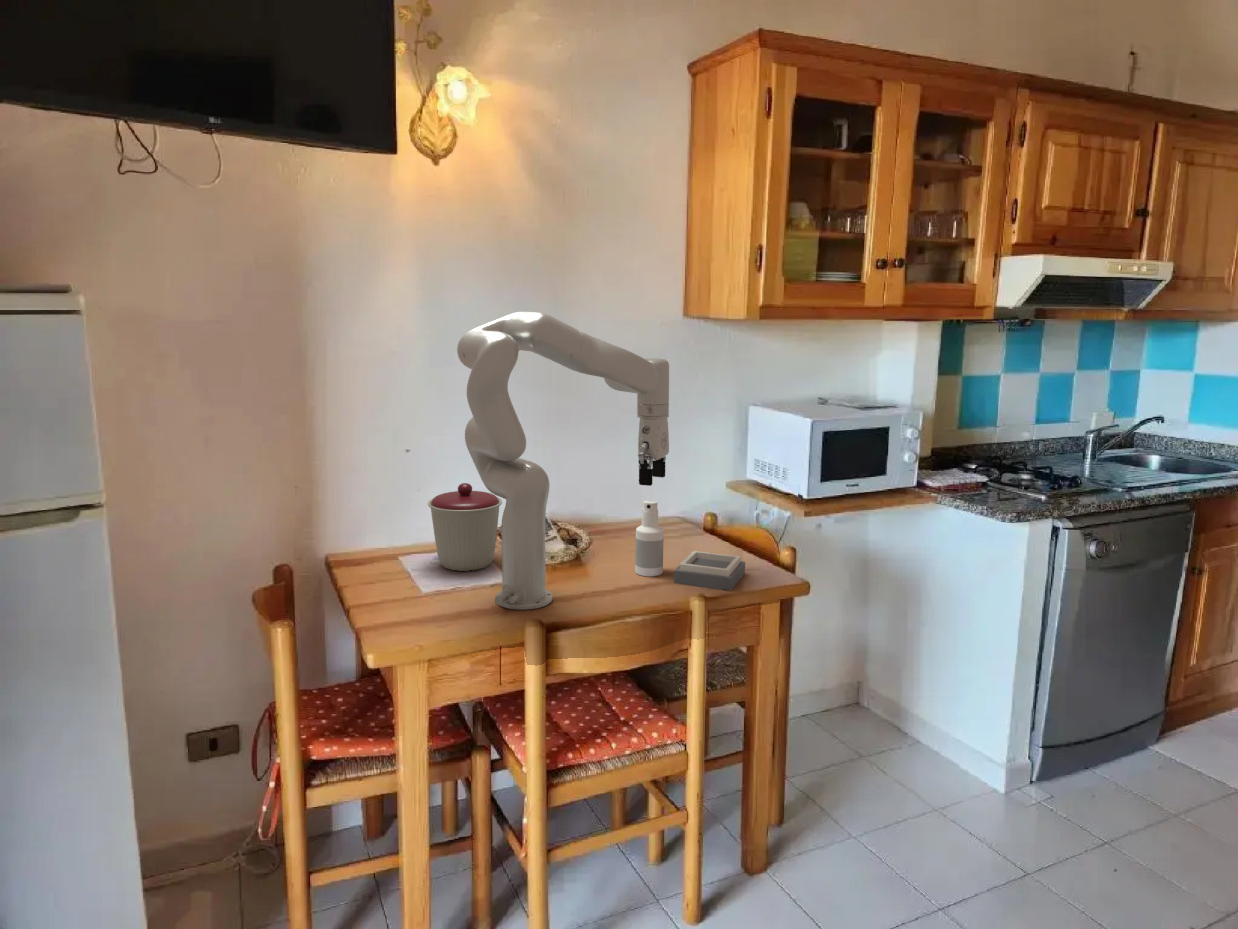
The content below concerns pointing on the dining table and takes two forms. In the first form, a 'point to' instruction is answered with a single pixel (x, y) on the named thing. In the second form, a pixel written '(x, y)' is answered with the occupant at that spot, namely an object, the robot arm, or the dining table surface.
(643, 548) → the spray bottle
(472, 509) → the canister
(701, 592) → the dining table surface
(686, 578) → the stand
